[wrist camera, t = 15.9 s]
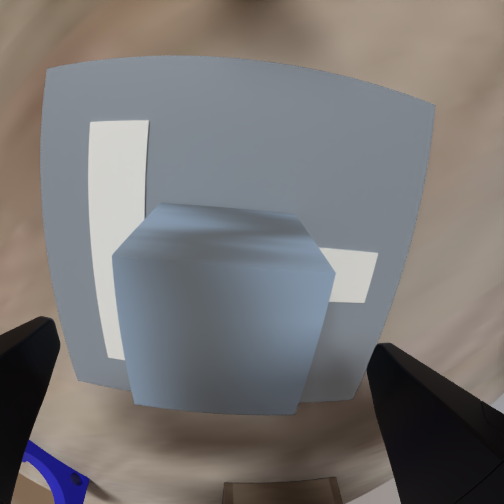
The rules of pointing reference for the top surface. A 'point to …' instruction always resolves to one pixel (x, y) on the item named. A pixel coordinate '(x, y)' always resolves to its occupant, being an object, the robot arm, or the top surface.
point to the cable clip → (57, 476)
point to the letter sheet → (229, 185)
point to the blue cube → (220, 309)
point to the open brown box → (283, 492)
